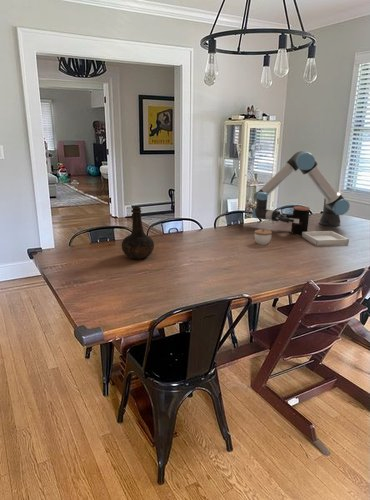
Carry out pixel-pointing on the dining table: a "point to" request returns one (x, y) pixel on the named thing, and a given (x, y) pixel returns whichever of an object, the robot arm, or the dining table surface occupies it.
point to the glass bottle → (137, 239)
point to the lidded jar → (263, 236)
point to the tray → (325, 238)
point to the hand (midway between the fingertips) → (302, 219)
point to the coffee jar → (300, 219)
